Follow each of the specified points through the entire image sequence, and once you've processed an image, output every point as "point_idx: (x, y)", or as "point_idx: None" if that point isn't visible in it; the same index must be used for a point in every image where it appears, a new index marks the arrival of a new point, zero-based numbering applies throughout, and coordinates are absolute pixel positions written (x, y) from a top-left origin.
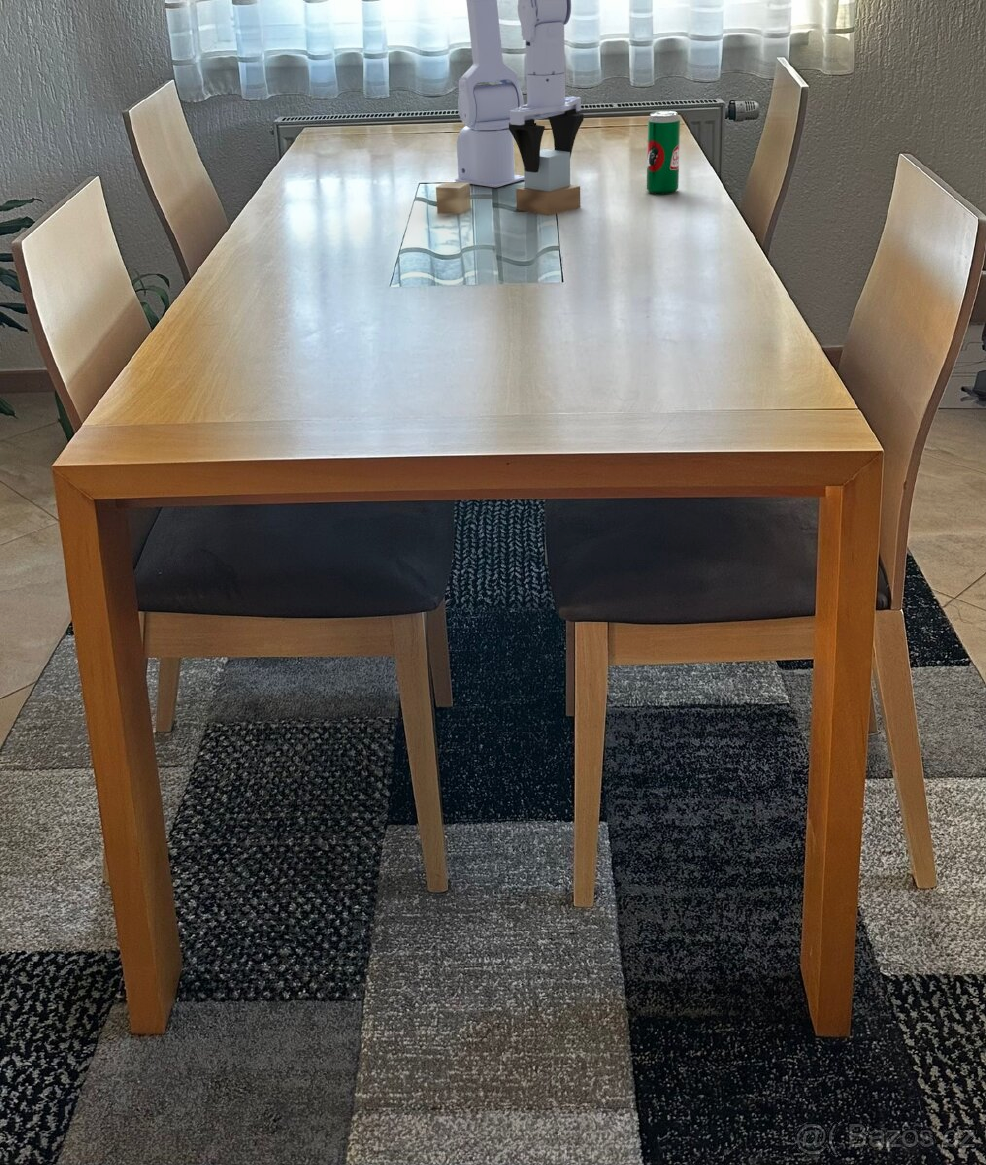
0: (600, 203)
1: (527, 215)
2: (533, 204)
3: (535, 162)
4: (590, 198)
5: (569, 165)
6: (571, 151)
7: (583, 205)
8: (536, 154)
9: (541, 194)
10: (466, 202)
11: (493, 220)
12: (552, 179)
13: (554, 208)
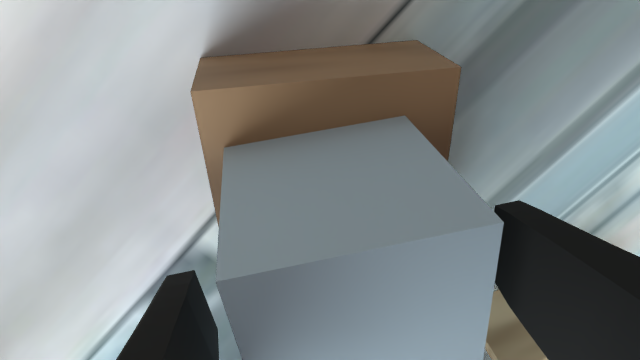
0: (66, 33)
1: (459, 112)
2: None
3: (575, 229)
4: (51, 153)
5: (228, 209)
6: (141, 327)
7: (168, 69)
8: (630, 257)
9: (451, 115)
10: (507, 311)
11: (574, 143)
12: (398, 146)
13: (389, 49)
